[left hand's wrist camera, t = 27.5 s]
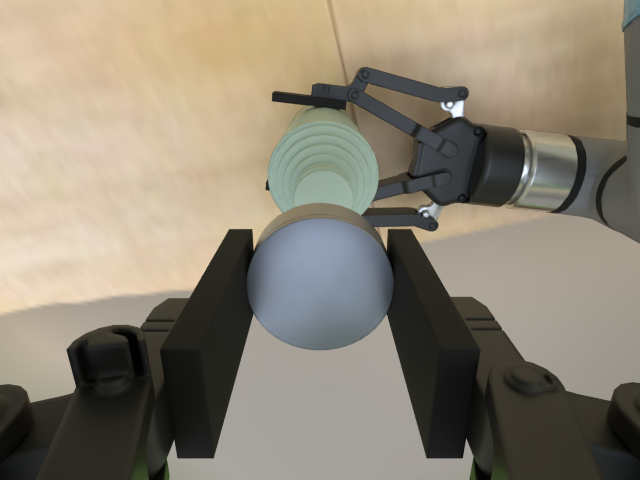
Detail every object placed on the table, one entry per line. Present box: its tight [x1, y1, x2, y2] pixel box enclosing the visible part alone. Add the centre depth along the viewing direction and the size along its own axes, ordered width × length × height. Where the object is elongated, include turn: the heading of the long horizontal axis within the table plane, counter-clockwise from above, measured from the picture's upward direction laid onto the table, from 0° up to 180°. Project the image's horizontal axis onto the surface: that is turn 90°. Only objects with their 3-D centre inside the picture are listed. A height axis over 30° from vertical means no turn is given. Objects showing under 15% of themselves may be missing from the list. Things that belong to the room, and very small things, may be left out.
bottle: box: [268, 106, 379, 215], centre depth 34 cm, size 7×7×24 cm
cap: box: [246, 203, 394, 350], centre depth 14 cm, size 4×4×2 cm
